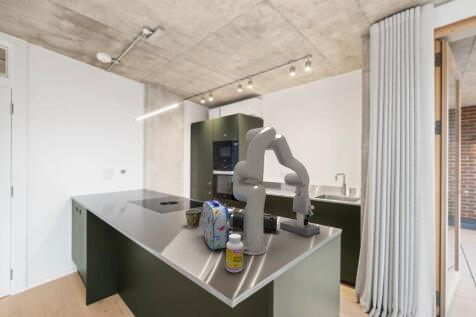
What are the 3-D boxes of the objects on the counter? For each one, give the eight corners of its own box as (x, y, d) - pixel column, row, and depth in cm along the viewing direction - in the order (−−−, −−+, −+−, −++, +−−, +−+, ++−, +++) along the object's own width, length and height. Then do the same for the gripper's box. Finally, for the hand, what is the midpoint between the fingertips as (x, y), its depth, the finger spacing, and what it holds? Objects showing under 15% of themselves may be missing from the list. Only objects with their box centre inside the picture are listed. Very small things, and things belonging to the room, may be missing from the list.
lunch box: (234, 252, 99) (234, 204, 99) (212, 255, 95) (212, 206, 96) (218, 233, 125) (218, 195, 125) (200, 235, 121) (200, 196, 121)
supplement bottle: (232, 275, 79) (232, 240, 79) (222, 267, 84) (223, 235, 85) (246, 269, 83) (246, 236, 83) (236, 263, 88) (236, 231, 89)
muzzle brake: (276, 234, 123) (276, 216, 123) (229, 230, 129) (229, 213, 129) (277, 229, 133) (277, 212, 133) (233, 226, 138) (233, 210, 138)
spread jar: (226, 231, 128) (227, 212, 128) (212, 228, 134) (213, 209, 135) (238, 227, 138) (238, 208, 138) (224, 223, 144) (225, 206, 144)
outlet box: (307, 237, 119) (307, 230, 119) (280, 228, 134) (280, 222, 134) (319, 233, 126) (319, 226, 126) (292, 225, 142) (292, 219, 142)
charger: (303, 227, 125) (303, 213, 126) (296, 225, 129) (296, 212, 129) (307, 226, 128) (307, 212, 128) (301, 224, 132) (301, 211, 132)
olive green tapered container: (183, 225, 140) (184, 210, 140) (198, 223, 144) (199, 208, 144) (187, 231, 128) (188, 214, 128) (204, 229, 133) (204, 213, 133)
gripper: (286, 192, 133) (286, 222, 133) (310, 196, 120) (310, 228, 120) (294, 191, 138) (294, 220, 138) (318, 194, 125) (318, 226, 124)
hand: (302, 223), depth 129 cm, fingers closed on charger, 4 cm apart
